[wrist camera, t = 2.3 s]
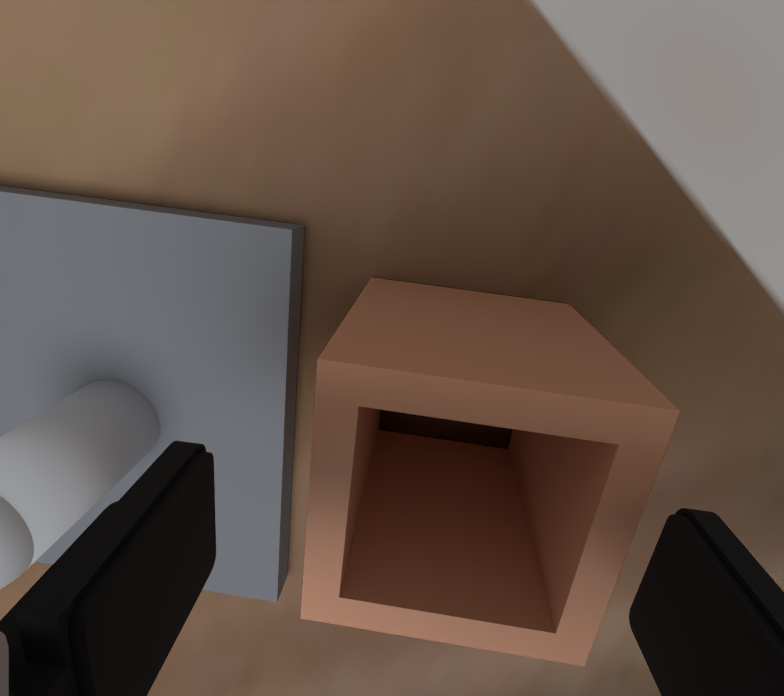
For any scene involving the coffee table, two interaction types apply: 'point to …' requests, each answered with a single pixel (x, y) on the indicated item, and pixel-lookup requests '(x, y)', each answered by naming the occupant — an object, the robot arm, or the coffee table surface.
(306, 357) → the coffee table surface
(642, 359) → the coffee table surface
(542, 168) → the coffee table surface
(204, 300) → the peg on grey base
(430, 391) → the sleeve
